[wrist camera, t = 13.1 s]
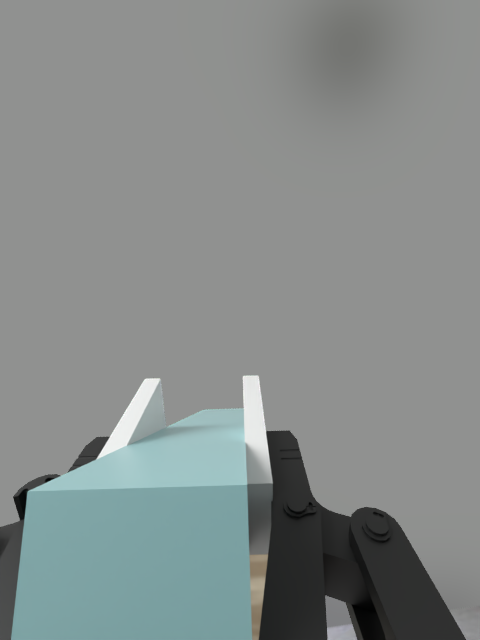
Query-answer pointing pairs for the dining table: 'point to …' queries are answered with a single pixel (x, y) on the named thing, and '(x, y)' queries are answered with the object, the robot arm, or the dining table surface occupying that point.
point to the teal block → (143, 541)
